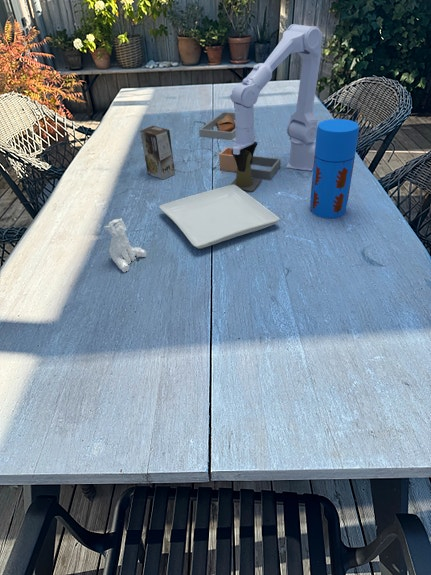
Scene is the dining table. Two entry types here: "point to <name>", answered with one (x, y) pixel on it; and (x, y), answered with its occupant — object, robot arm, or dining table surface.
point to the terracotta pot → (227, 160)
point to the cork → (245, 174)
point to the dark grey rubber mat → (249, 188)
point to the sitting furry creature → (122, 245)
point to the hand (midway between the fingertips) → (244, 167)
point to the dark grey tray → (209, 133)
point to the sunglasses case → (226, 124)
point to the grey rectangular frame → (265, 161)
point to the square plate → (218, 215)
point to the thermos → (333, 167)
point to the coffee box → (158, 151)
